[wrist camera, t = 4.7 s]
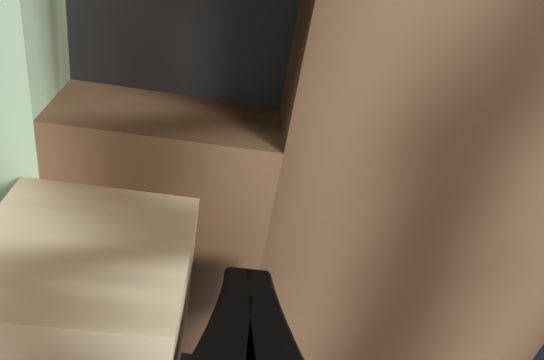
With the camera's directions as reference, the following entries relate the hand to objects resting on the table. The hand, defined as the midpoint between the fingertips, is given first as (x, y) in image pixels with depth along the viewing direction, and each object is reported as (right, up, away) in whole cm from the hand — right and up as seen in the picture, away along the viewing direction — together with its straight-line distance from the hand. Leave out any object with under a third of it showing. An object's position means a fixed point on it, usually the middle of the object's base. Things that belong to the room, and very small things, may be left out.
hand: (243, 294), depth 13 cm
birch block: (-4, +1, 0) cm, 4 cm away
